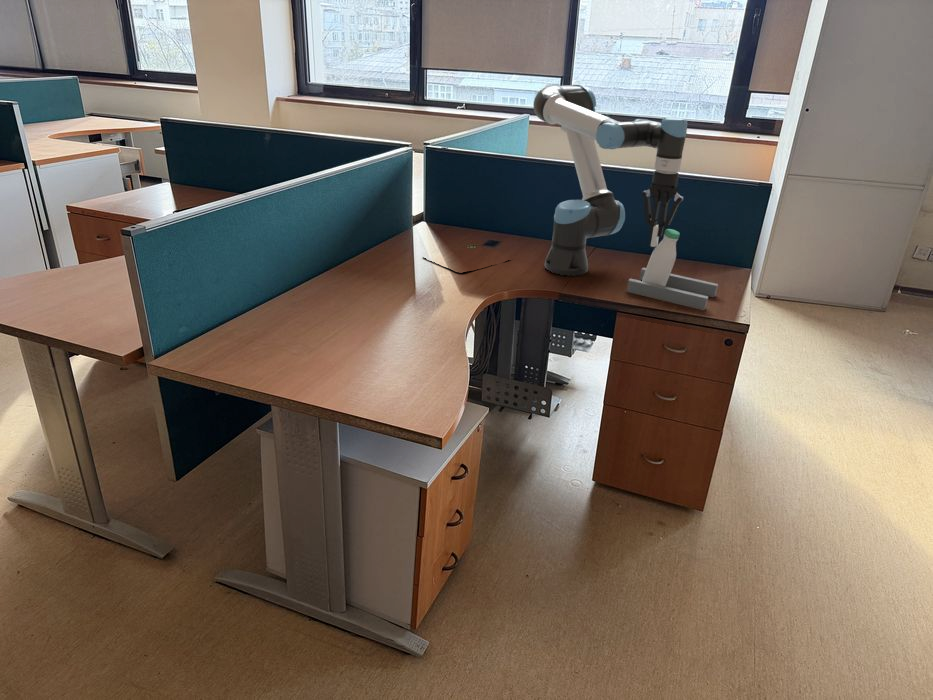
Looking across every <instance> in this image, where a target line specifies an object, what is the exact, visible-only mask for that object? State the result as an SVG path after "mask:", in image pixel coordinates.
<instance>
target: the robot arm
mask: <svg viewBox="0 0 933 700" xmlns="http://www.w3.org/2000/svg"><path fill="white" fill-rule="evenodd" d="M595 96H596V95H595V94H594V92H593V91H592V89H591V88H590V87H588V86H586V85H582V84H581V85H580V84H570V85H547V86H545V87H543V88H541V90H539V91H538V92H537V93H536V95H535V97H534V100H533V111H534V113H535V115H536V117H537V118H538V119H539V120H540V121H543V122H544V123H547V124H549V125H556V124H557V125H559V127H560V129H561V131H562V132H565V134H566V136H567V140H568V144H569V148H570V151H571V155H572V159H573V162H574V163H573V164H574V167H575V171H576V175H577V178H578V179H577V180H578V181H579V187H580V190H581V194H582V198H581V199H567V200H565V201H562V202H559V203H558V204H557V206H556V207H555V210H554V215H553V227H552V228H553V230H552V239H551V246H550V248H549V251H548V253H547V256H546V258H545V261H544V266H545V267H544V269H545V268H546V269H547V270H549V271H551V272H553V273H552V274H554V273H556V274H555V275H557V274H560V275H559V276H563V275H567V276H566V277H577V275H578V276H582V275H585V274H586V273H587V272H588V269H589V263H588V255H587V253H586V245H587V239H590V238H591V239H592V238H598V237H602V236H603V237H604V236H605V237H606V236H610V235H613V234H616V233H618V232H620V230H621V229H622V227H623V225H624V224H625V220H626V211H625V210H626V209H625V207H624V204H623V203H622V202H620V201H619V200H616V199H615V197H614V193H613V192H612V191H610V190H608V188H607V184H606V179H605V177H604V173H603V168H602V165H601V161H600V158H599V154H598V153H599V152H598V151H597V146H596V144H598V147H600V148H601V149H605V150H616V149H626V148H638V147H639V148H641V147H648V148H653V149H656V156H655V162H654V171H653V173H652V174H653V175H652V181H651V184H650V186H649V187H648V189H646V190H643V191H641V196H642V198H643V206H644V207H643V208H644V221H645V222H646V223H647V224H649V225H650V228H649V232H648V233H649V236H651V241H650V247H651V248H656V246H657V245H658V244H659V238H661V237H663V236H664V234H663V233H664V229H665V228H664V227H668V226H669V225H671V224H672V221H673V219H674V216H675V214H676V212H677V210H678V207H679V206H680V203H681V202H683V201H684V199H685V197H684V196H683V195H682V196H681V195H680V194H679V193H678V188H677V187H678V182H679V176H680V174H679V172H680V170H681V166H682V165H681V164H682V159H683V151H684V148H685V143H686V137H687V135H688V134H687V132H688V120H687V119H686V118H684V117H677V116H665V117H663V118H662V119H661V122H660V121H654V120H649V119H648V118H647V119H646V118H645V119H644V118H636V119H634V120H632V121H619V120H616V119H613V118H611V117H609V116H606V115H603V114H601V113H598V112H596V107H597V101H596V97H595ZM595 141H596V142H595ZM651 196H652V198H653V206H652V205H651ZM673 198H674V199H673ZM672 199H673V201H674V202H673V204H672V206H671V209H670V211H669V213H668V207H669V203H670V201H671V200H672ZM660 204H661V207H660ZM651 206H652V207H653V208H651ZM660 208H661V209H660ZM659 212H660V214H659ZM667 213H668V216H667ZM658 216H659V221H658ZM657 223H658V224H657ZM546 269H545V270H546ZM547 270H546V271H547ZM549 271H548V272H549ZM551 272H550V273H551ZM570 275H571V276H570Z"/></svg>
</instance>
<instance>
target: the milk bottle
mask: <svg viewBox="0 0 933 700" xmlns="http://www.w3.org/2000/svg"><path fill="white" fill-rule="evenodd" d="M663 233H664V234H663V238H662V240H661V241H660V242H658V245H657V246H656V247H654V248H653V251H652V253H651V255H650V258H649V260H648V263H647V265H646V267H645V268H646V271H645V273H644V276H643V279H642V281H643V282H648V283H652V284H656V285H661V286H665V287H667V286H666V283H667V281H668V278H669V276H670V273H671V274H672V270H673V268H674V265H675V262H676V259H677V241H678V240H679V239H680V236H681V234H680V231H677V230H675V229H673V228H672V229H671V228H667V229H665V230H664V232H663Z"/></svg>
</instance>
